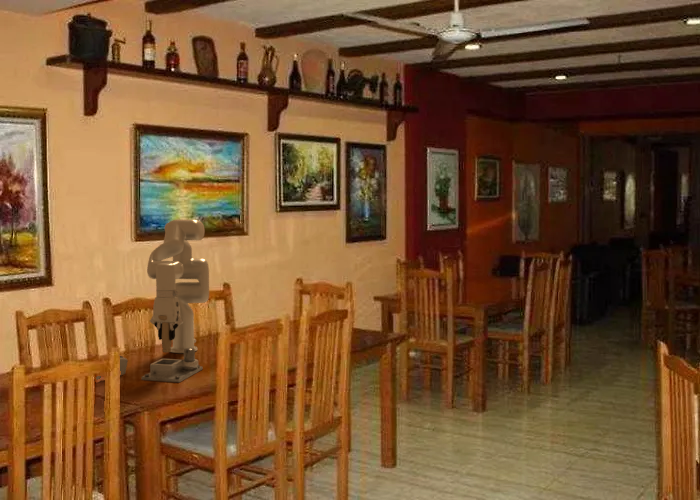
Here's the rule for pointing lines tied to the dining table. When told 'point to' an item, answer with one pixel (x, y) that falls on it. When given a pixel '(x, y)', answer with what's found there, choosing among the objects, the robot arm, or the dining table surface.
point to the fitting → (174, 368)
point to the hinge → (122, 366)
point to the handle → (165, 335)
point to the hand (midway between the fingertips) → (166, 338)
